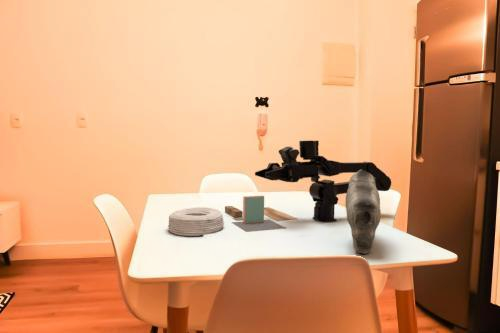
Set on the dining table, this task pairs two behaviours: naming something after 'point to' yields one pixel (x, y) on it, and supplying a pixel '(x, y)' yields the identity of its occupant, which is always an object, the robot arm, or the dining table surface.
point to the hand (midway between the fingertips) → (260, 174)
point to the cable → (195, 221)
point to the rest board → (277, 214)
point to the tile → (253, 209)
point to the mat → (258, 226)
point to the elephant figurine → (363, 210)
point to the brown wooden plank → (234, 213)
